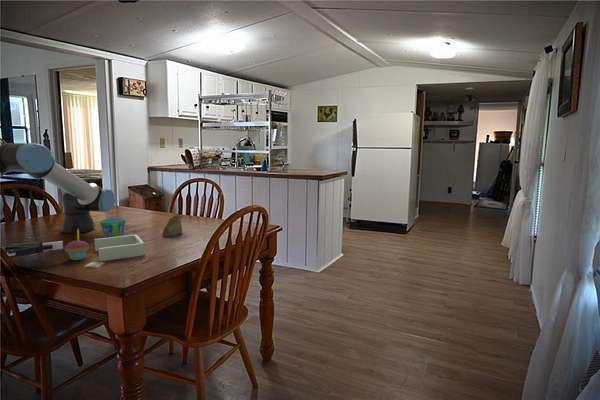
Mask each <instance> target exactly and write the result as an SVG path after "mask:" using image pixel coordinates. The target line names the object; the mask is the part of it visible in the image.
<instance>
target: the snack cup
mask: <svg viewBox="0 0 600 400" xmlns="http://www.w3.org/2000/svg"><path fill="white" fill-rule="evenodd" d="M126 222H127V221H126V219H125V218H123V217H114V218H105V219H101V220H100V222H99V224H100V226H101V230H102V233H103V238H109V237H118V236H125V225H126Z"/></svg>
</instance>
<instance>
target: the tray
mask: <svg viewBox="0 0 600 400" xmlns="http://www.w3.org/2000/svg"><path fill="white" fill-rule="evenodd" d="M93 241H94V251H95V252H98V259H99V260H98V261H99V262H105V261H113V260H120V259H127V258H133V257H140V256H144V255H146V252H145V242H144V241H143V240H142V238H140V236H139V235H138V234H128V235H124V236H118V237H109V238H104V237H102V238H94V240H93Z"/></svg>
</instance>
